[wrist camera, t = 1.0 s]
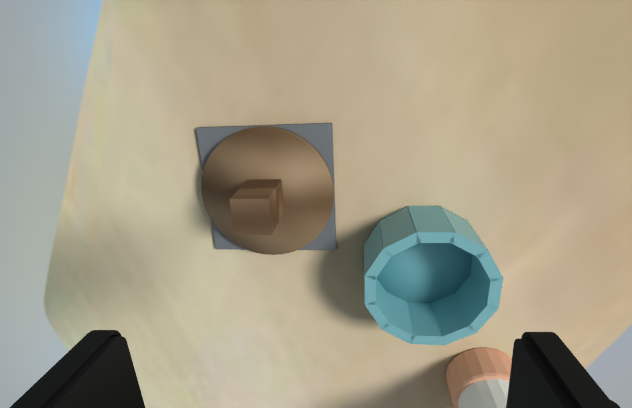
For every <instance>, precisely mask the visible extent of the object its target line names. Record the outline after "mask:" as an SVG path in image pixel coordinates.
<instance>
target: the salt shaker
mask: <svg viewBox="0 0 632 408" xmlns="http://www.w3.org/2000/svg"><path fill="white" fill-rule="evenodd" d="M511 364H512V359H511V358H510V357H509V356H508V355H507V354H505V353H503V352H501V351H499V350H496V349H490V348H474V349H471V350H468V351H464V352H462V353H461V354H459V355H458V356H456V357H454V359H453V360H452V361H451V362H450V363H449V365H448V367H447V370H446V381H447V385H448V388H449V392H450V396H451V399H452V403H453V406H454V408H506V404H507V396H508V388H509V380H510V372H511Z"/></svg>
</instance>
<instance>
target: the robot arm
mask: <svg viewBox="0 0 632 408" xmlns="http://www.w3.org/2000/svg"><path fill="white" fill-rule="evenodd" d="M10 408H145V405H144V402H143V398H142V394H141V391H140V387H139V384H138V380H137V377H136V373H135V369H134V366H133V362H132V359H131V355H130V352H129V348H128V345H127V341H126V339H125V338H124V337H122V336H121V334H120V333H119V332H118V331H116V330H94V331H91V332H89V333H88V334H87V335H86V336H85V337H84V338H83V339H82V340H80V341H79V342H78V343H77V344H76V345H75V346H74V347H73V348H72V349H71V350H70V351H69V352H68V353H67V354H66V355H65V356H64V357H63V358H62V359H61V360H59V361H58V362H57V363H56V364H55V365H54V366H53V367H52V368H51V369H50V370H49V371H48V372H47V373H46V374H45V375H44V376H43V377H42V378H40V379H39V380H38V381H37V382H36V383H35V384H34V385H33V386H32V387H31V388H30V389H29V390H28V391H27V392H26V393H25V394H24V395H23V396H22V397H20V398H19V399H18V400H17V401H16V402H15V403H14V404H13V405H12V406H11V407H10ZM506 408H620V407H619V406H618V405H617V404H616V403H615V402H613V401H611V400H609V398H608V397H607V396H606V395H605V394H604V392H603V391H602V390H601V388H600V387H599V386H598V385H597V384H596V382H595V381H594V380H593V379H592V377H591V376H590V375H589V374H588V372H587V371H586V370H585V369H584V367H583V366H582V365H581V364H580V362H579V361H578V360H577V359H576V358H575V356H574V355H573V354H572V353H571V351H570V350H569V349H568V348H567V346H566V345H565V344H564V343H563V342H562V340H561V339H560V338H559V337H558V336H557V335H556V334H555V333H553V332H525V333H524V334H523V335H522V339H516V340H515V342H514V348H513V356H512V364H511V372H510V380H509V388H508V396H507V404H506Z"/></svg>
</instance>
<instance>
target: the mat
mask: <svg viewBox="0 0 632 408" xmlns="http://www.w3.org/2000/svg"><path fill="white" fill-rule="evenodd" d="M256 126H273V127H279V128H283V129H286V130H289V131H291V132H294V133H296V134H298V135H299V136H301V137H303V138H304V139H306V140H307V141H308V142H309V143H311V144H312V145H313V146H314V147H315V148H316V149H317V150H318V151H319V153H320V154H321V156H322V157H323V158H324V160H325V162H326V164H327V165H328V168H329V170H330V173H331V176H332V180H333V186H334V165H333V135H332V123H312V124H282V125H253V126H223V127H197V128H196V132H197V138H198V144H199V150H200V156H201V162H202V168H203V170H204V167H205V164H206V162H207V160H208V158H209V156H210V155H211V153H212V152H213V150H214V149H215V148H216V147H217V146H218V145H219V144H220V143H221V142H222V141H223V140H225V139H226V138H228V137H229V136H231V135H233V134H235V133H236V132H238V131H241V130H243V129H246V128H250V127H256ZM211 222H212V228H213V234H214V240H215V246H216V249H245V248H243V247H241V246H239V245H237V244H235V243H234V242H232V241H231V240H230V239H228V238H227V237H226V236H225V235H224V234H223V233H221V231H220V230H219V229H218V228H217V227H216V226H215V224H214V223H213V221H212V220H211ZM298 250H336V225H335V195H334V201H333V206H332V211H331V214H330V218H329V220H328V222H327V224H326V226H325V227H324V229H323V230H322V232H321V233H320V234H319V235H318V236H317V237H316V238H315V239H314V240H313V241H312V242H311V243H309V244H308V245H306V246H304V247H303V248H300V249H298Z"/></svg>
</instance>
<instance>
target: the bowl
mask: <svg viewBox="0 0 632 408" xmlns="http://www.w3.org/2000/svg"><path fill="white" fill-rule="evenodd" d="M502 282H503V277H502V275H501V273H500V271H499V269H498V268H497V266H496V264H495V262H494V260H493V258H492V257H491V255H490V253H489V251H488V249H487V248H486V247H485V245H484V244H483V242H482V241H481V239H480V238H479V236H478V235H477V234H476V232H475V231H474V229H473V228H472V226H471V225H470V224H469V222H468V221H467V220H466V219H464V218H462V217H460V216H458V215H456V214H454V213H453V212H451V211H449V210H447V209H445V208H443V207H441V206H408V207H405V208H403V209H401V210H399V211H397V212H395V213H393V214H391V215H389V216H387V217H385V218H383V219H382V220H380V221H379V222H378V223H377V225H376V227H375V228H374V230H373V231H372V233H371V234H370V236H369V237H368V239H367V240H366V242H365V243H364V296H365V306H366V308H367V309H368V310H369V312H370V313H371V315H372V316H373V318H374V319H375V321H376V322H377V324H378V325H379V326H380V328H381V329H382V330H384V331H386V332H388V333H390V334H392V335H394V336H396V337H398V338H400V339H402V340H404V341H406V342H408V343H411V344H428V345H446V344H449V343H451V342H454V341H456V340H459V339H462V338H464V337H467V336H469V335H472V334H474V333H476V332H478V330H479V329H480V328H481V327H482V326H483V325H484V324H485V323H486V322H487V321H488V319H489V318H490V317H491V316H492V315H493V314H494V313H495V312H496V311H497V310H498V308H499V301H500V295H501V289H502Z"/></svg>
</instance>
